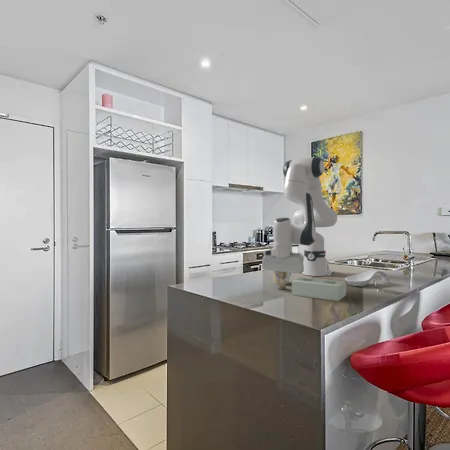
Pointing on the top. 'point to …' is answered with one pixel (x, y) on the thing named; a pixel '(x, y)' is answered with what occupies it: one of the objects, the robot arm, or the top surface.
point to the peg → (282, 280)
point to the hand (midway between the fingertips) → (282, 281)
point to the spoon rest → (366, 278)
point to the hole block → (319, 288)
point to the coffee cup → (278, 275)
